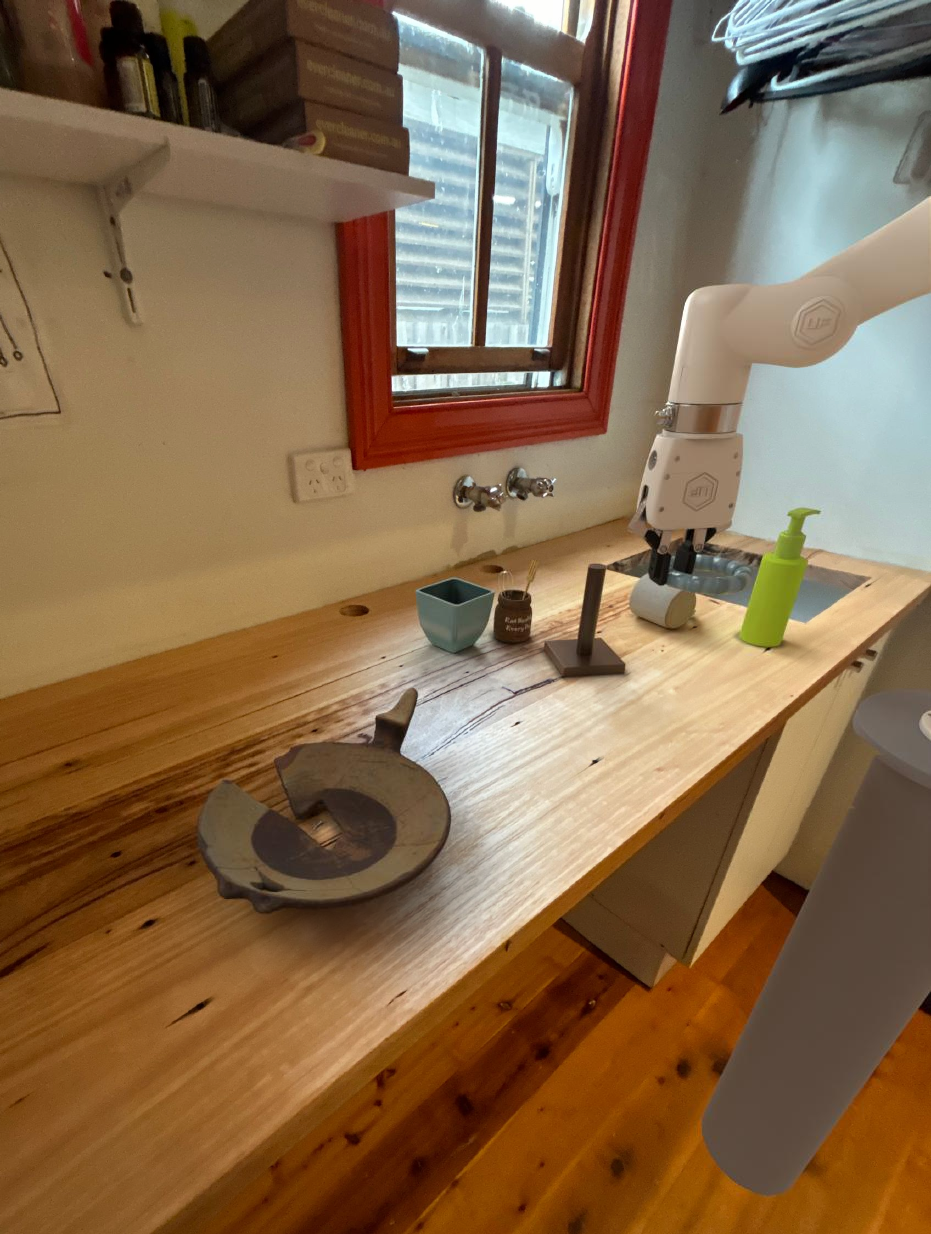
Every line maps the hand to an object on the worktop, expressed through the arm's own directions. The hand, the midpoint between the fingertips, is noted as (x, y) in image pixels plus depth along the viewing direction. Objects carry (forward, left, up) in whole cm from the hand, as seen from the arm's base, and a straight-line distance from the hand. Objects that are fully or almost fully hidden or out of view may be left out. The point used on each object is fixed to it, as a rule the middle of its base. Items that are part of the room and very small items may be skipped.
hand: (668, 580), depth 76 cm
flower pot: (+24, -16, -15) cm, 33 cm away
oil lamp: (+41, +24, -15) cm, 50 cm away
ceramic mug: (-13, -21, -15) cm, 29 cm away
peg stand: (+6, -8, -15) cm, 18 cm away
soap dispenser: (-25, -12, -15) cm, 32 cm away
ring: (-4, 0, +1) cm, 4 cm away
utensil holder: (+14, -18, -15) cm, 28 cm away
